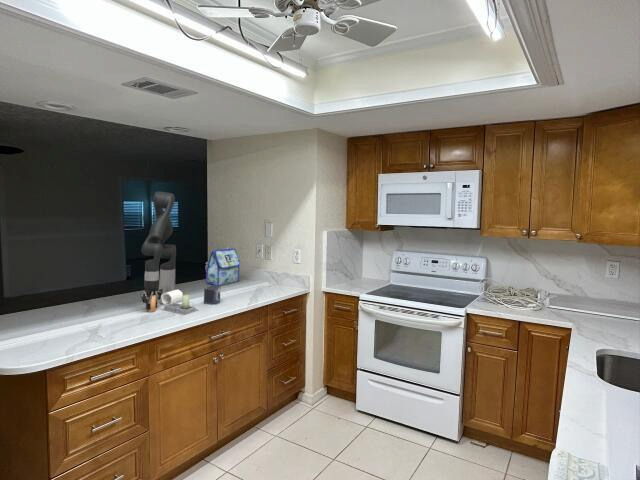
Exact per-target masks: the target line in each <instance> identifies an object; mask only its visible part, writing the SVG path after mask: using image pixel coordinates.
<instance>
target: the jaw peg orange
mask: <svg viewBox="0 0 640 480" xmlns="http://www.w3.org/2000/svg"><path fill="white" fill-rule="evenodd" d="M148 298H150V297H148ZM156 309H157V308H156V295H154V296H152V299H151V301H150V310H147V312H148V313H154V312H156Z"/></svg>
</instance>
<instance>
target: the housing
mask: <svg viewBox="0 0 640 480" xmlns="http://www.w3.org/2000/svg"><path fill="white" fill-rule="evenodd" d="M160 311H165V312H169V313H174V314H178V315H182V316H187V315H189V314H192V313H194V312H195V313H196V312H198V311H199V309H197V308H196V306H191V305H189V309H187V310H185V309H182V303H179V302H177V303H172V304H170V303H167V304H166V305H165V304H164V308H162V309H160Z"/></svg>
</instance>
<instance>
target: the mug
mask: <svg viewBox="0 0 640 480" xmlns="http://www.w3.org/2000/svg"><path fill="white" fill-rule="evenodd" d="M182 295H184V293H183V292H182V291H181V290H180V289H175V290H173V291H170V292H166V293H164V294H163V295H161V299H160V300H161V302H162V304H163V305H165V304H166V305H167V304H172V303H181V302H182Z"/></svg>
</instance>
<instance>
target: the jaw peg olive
mask: <svg viewBox="0 0 640 480" xmlns="http://www.w3.org/2000/svg"><path fill="white" fill-rule="evenodd" d="M181 304H182V309H185V310H187V309H189V306H190V294H183V295H182V301H181Z"/></svg>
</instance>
